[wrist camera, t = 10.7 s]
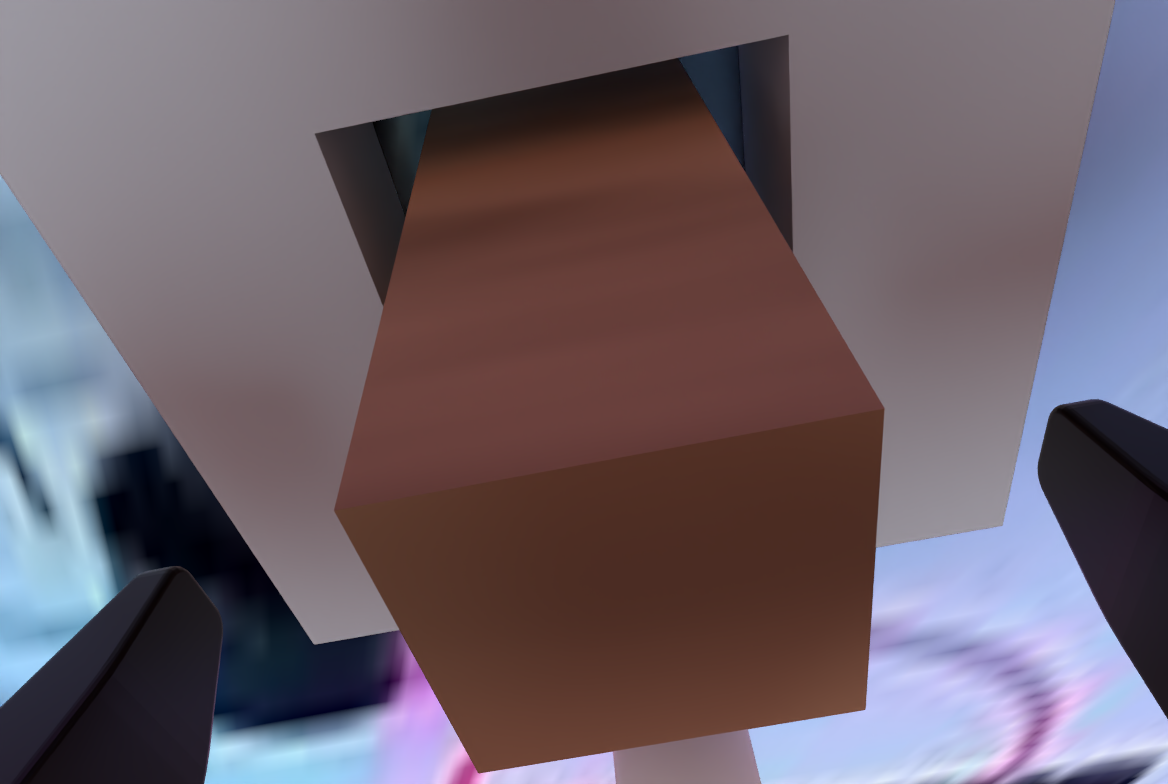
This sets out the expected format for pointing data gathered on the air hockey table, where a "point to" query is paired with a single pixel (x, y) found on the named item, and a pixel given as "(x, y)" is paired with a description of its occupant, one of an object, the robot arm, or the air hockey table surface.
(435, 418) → the brown rectangular block
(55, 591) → the air hockey table surface
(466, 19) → the gauge block
